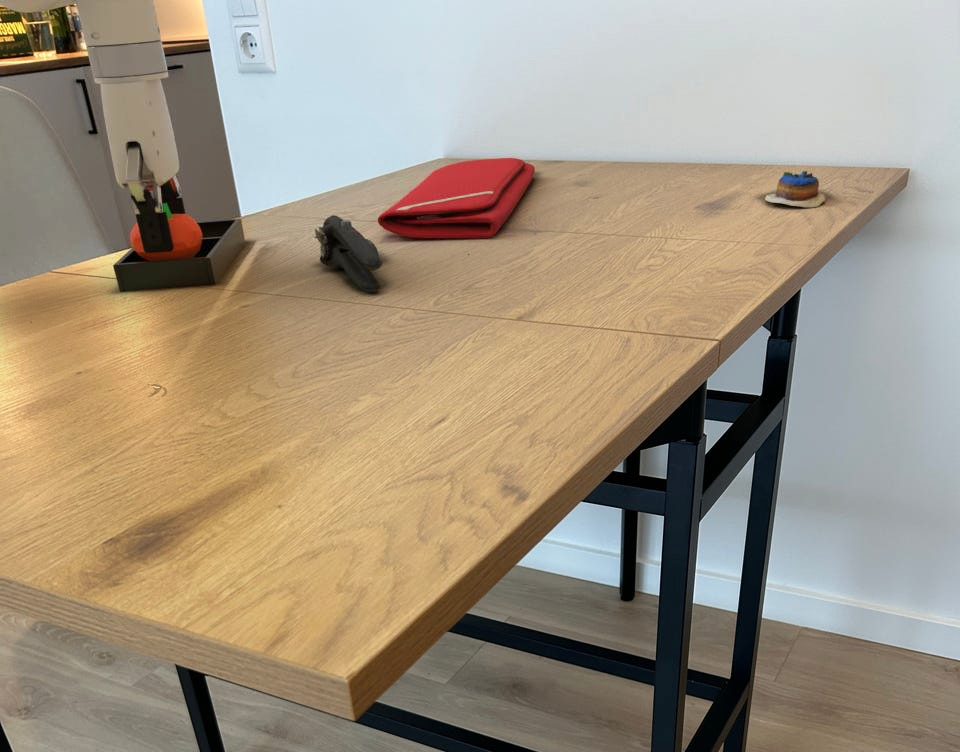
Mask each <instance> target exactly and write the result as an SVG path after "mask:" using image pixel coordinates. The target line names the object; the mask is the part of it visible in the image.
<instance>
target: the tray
mask: <svg viewBox="0 0 960 752" xmlns="http://www.w3.org/2000/svg"><path fill="white" fill-rule="evenodd" d="M195 222H196V223H197V224H198V225H199V227H200V229H201V232H202V243H201V247H200V251H199V252H198V253H197V254H196V255H195V256H194V257H193V258H187V259H173V260H160V261H148V260H146V259H144V258H142V257H141V256H140V255H138V253H137V252H136V251H135V250H134V248H133V247H131V248H130V249H129V250H128V251H127V252H125V254H124V255H122V256H121V257H120V258H119V259H118V260H117V261H116V262H115V263H114V264H113V265H112V267H113V271H114V274H115V279H116V282H117V286H118V290H119V293H124V292H138V291H150V290H151V291H152V290H163V289H164V290H165V289H176V288H177V289H178V288H190V287H203V286H216V285H217V283H218V282H219V280H220V279H221V278H222V276H223V275H224V273H225V272H226V270H227V269H228V268H229V266H230V265H231V264H232V262H233V261H234V259H236V257H237V256H238V254H239V252H240V251H241V249H242V248H243V247H244V245H245V244H246V239H245V233H244V228H243V221H242V219H241V218H231V219H218V220H217V219H216V220H204V221H195Z"/></svg>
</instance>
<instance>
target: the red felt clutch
mask: <svg viewBox="0 0 960 752" xmlns="http://www.w3.org/2000/svg"><path fill="white" fill-rule="evenodd" d="M535 170H536V169H535V166H534V165H533V164H531V163H528V162H527V163H526V162H525V161H524V160H523V159H520V158H515V157H499V158H487V159H486V158H482V159H472V160H466V161H460V162H454V163H450V164H448V165H444V166H442V167H440V168H437V169H435V170H433V171H432V172H431V173H430V174H429V175H428V176H427V177H425V179H423V180H422V181H421V182H420V183H419V184H417V185H416V187H414V188H413V189H411V190H410V191H409V192H408V193H407V194H406V195H404V196H403V197H402V198H401V199H400V200H399V201H396V203H395V204H393V205H391V206H390V207H389V208H388V209H386V210H385V211H383V212H382V213H381V214H379V216H378V217H377V223H378V225H379V226H380V227H381V228H383V230H385V231H388V232H390V233H392V234H395V235H397V236H401V237H408V238H416V239H489V238H491V237H494V235H496V234H497V232H498V231H499V230H500V228H501V227H502V225H504V223H505V222H506V220H507V219H508V218H509V217H510V215H511V214H512V213H513V210H514V209H515V208H516V206H517V204H518V203H519V201H520V199H521V198H522V196H523V195H524V193H525V192H526V190H527V189H528V186H529V185H530V184H531V181H532V180H533V178H534V175H535V172H536V171H535Z"/></svg>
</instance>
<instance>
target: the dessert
mask: <svg viewBox="0 0 960 752" xmlns="http://www.w3.org/2000/svg"><path fill="white" fill-rule="evenodd" d="M819 187H820V181H819V178H817V177H816V176H813V172H810V173H808V171H807V170H803V171H802V172H801V173H800V174H797V173H794V174H793V172H790V171H785V172H783V174H782V176H781V177H780V178H779V180H778V183H777V185H776V193H771V194H767V195H766V196H765V198H764V200H765V201H766V202H769V203H775V204H784V205H787V206H791V207H792V206H793V207H801V208H817V207H819V206H821V204H822V203H823V202H825V201H826V197H825V194H823V193H820V192H819Z"/></svg>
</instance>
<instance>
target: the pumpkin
mask: <svg viewBox="0 0 960 752" xmlns="http://www.w3.org/2000/svg"><path fill="white" fill-rule="evenodd" d="M162 210H163V212H166V213H167V217H168V222H169V227H170V231H171V236H172V241H173V245H174V249H173V250H172V251H171V252H158V253H146V252H145V251H144V249H143V244H142V240H141V236H140V232H139V227H138V223H137V222H136V223H135V224H134V225H133V227H132V229H131V232H130V236H129V237H130V244H131V246H132V248H134V250H135V251H136V252H137V253H138V255H140V256H141V257H142V258H144V259H146V260H148V261H160V260H173V259H187V258H193V257H194V256H195V255H196V254H197V253H198V252H199V251H200V247H201V243H202V232H201V229H200V227H199V225H198V224H197V223H196V222H197V221H196V220H195V219H194V218H193V217H192V216H190V215H189V214H187V213H186V214H171V212H170V210H169V207H168V205H167V203H163V204H162Z"/></svg>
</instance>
